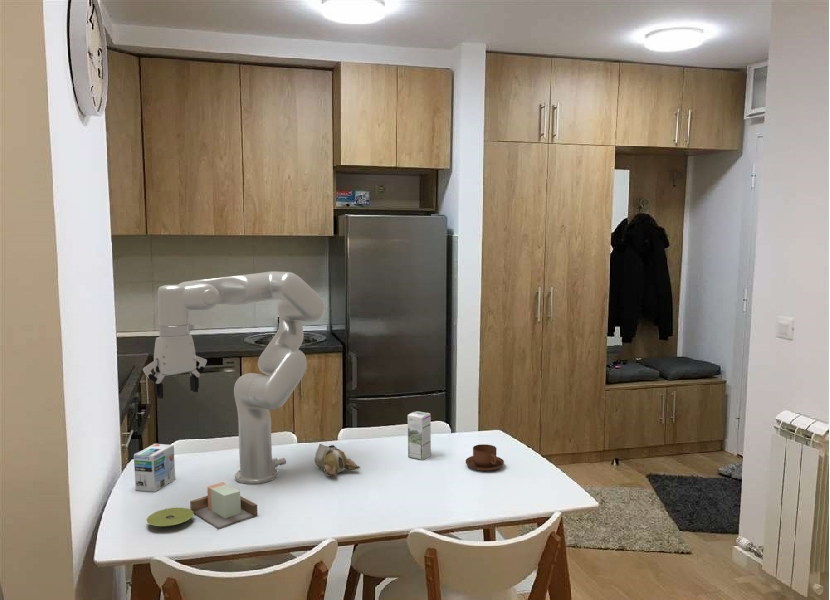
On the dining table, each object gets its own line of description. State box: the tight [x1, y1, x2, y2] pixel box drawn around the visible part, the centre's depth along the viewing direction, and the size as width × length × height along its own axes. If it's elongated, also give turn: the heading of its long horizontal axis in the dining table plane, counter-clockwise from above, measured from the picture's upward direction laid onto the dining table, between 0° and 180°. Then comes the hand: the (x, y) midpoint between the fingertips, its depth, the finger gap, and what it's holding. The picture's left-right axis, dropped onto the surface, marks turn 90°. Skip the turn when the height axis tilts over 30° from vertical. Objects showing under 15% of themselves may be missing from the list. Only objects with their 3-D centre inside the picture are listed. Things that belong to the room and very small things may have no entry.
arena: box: [189, 495, 258, 530], centre depth 172 cm, size 11×15×3 cm
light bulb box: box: [133, 443, 176, 493], centre depth 192 cm, size 11×7×11 cm, turn 168°
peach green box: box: [206, 482, 241, 518], centre depth 172 cm, size 9×4×6 cm, turn 45°
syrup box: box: [407, 411, 432, 461], centre depth 215 cm, size 6×6×14 cm
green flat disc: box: [146, 507, 195, 527], centre depth 166 cm, size 11×11×2 cm
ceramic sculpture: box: [314, 443, 361, 477], centre depth 202 cm, size 11×9×15 cm
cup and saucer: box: [465, 443, 505, 472], centre depth 205 cm, size 12×12×6 cm
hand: (177, 394), depth 176 cm, fingers open, 9 cm apart
